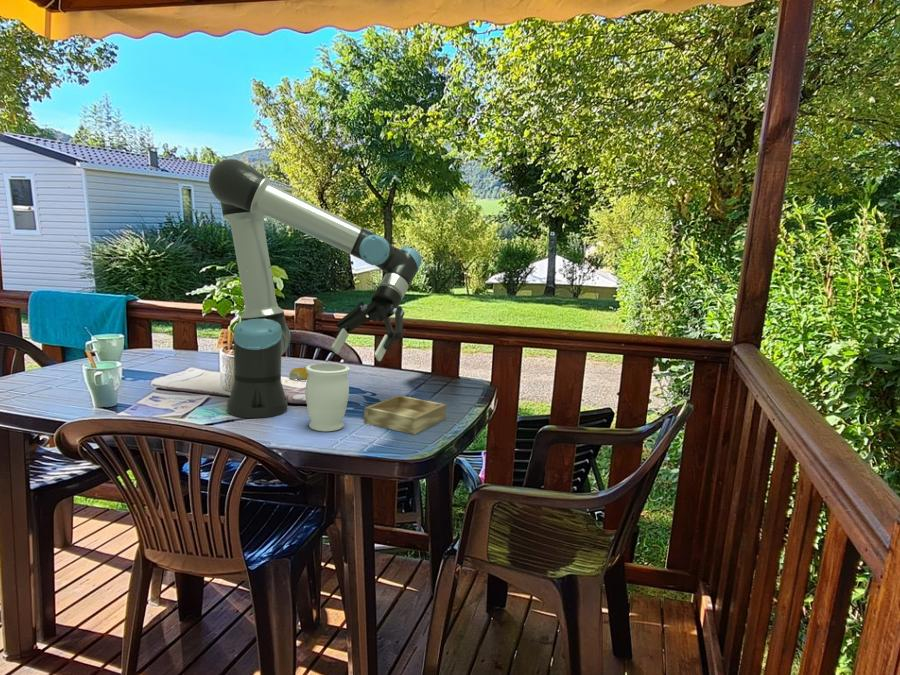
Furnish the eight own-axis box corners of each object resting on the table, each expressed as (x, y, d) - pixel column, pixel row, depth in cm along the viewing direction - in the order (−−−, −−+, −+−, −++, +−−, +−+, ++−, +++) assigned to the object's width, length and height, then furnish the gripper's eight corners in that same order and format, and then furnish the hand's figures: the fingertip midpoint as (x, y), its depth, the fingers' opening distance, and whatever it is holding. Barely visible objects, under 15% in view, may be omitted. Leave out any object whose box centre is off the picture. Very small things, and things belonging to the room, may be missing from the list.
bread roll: (322, 378, 193) (323, 367, 192) (301, 383, 185) (302, 370, 185) (306, 374, 197) (306, 363, 197) (284, 378, 190) (284, 366, 189)
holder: (363, 422, 148) (364, 407, 147) (397, 409, 162) (398, 395, 161) (414, 434, 141) (415, 418, 140) (445, 419, 155) (446, 404, 154)
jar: (350, 432, 140) (352, 371, 137) (305, 434, 137) (307, 372, 134) (345, 419, 150) (347, 362, 147) (303, 420, 147) (305, 362, 144)
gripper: (433, 307, 158) (401, 369, 147) (358, 298, 169) (323, 356, 158) (424, 288, 153) (390, 352, 142) (347, 280, 164) (310, 339, 153)
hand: (355, 354), depth 150 cm, fingers open, 13 cm apart
